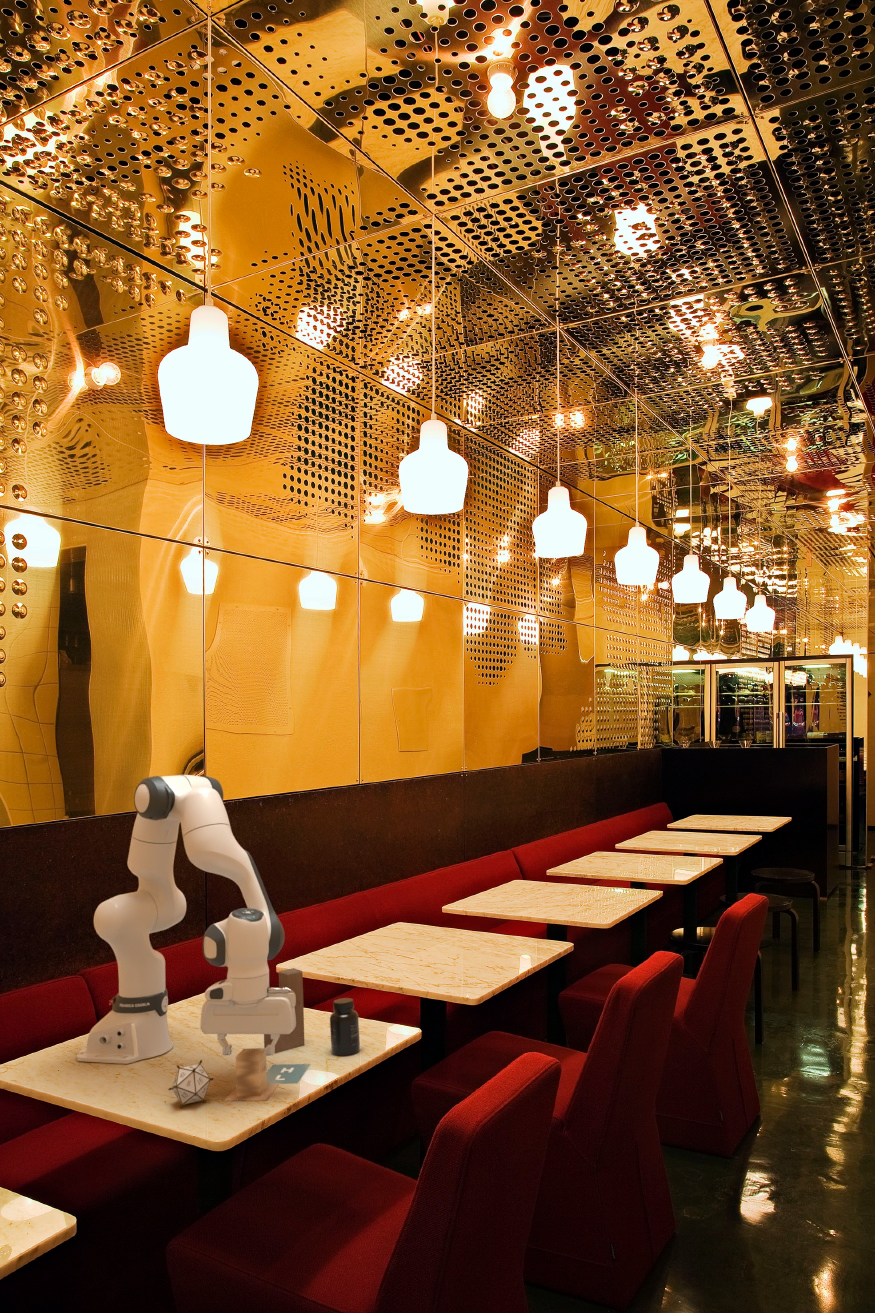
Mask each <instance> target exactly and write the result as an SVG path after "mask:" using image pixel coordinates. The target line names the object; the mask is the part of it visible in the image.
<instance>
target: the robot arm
mask: <svg viewBox="0 0 875 1313" xmlns="http://www.w3.org/2000/svg"><path fill="white" fill-rule="evenodd" d="M133 805H134V808H135V811H136V812H137V814H136V818H135V821H134V824H133V829H132V833H131V840H130V846H129V850H128V851H129V852H128V856H127V867H128V869H129V870H130V872H131V873H132V874H133V875H134V876H136V877H137V878H138V888H137V891H134V892H128V893H123V894H118V895H115V896H113V897H110V898H109V899H106V900H105V901H103V902H101V903H100V904H98V906H97V908H96V909H95V911H94V915H93V927H94V930H95V931H96V934H97V935H98V936H99V937H100V938H101V939H102V940H104V941H105V942H106V943H107V944H109V946H110V947H111V949H112V951H113V953H114V956H115V958H116V963H117V970H118V972H117V974H118V993H117V994H116V995H115V996H113V997H112V999H110V1000H108V1003H109V1004H108V1005H109V1006H111V1005H112V1007H111V1008H112V1009H111V1010H110V1011H109V1012H108V1013H107V1014H106V1015H105V1016H104V1017H103V1018H101V1019H100V1020H99V1021H98V1022H97V1023H96V1024H95V1025H94V1026H92V1028H91V1029H90V1030H89V1034H88V1036H87V1041H86V1046H84V1047H83V1048H82V1049H81V1050H80V1051H78V1053H77V1054H76V1061H77V1062H90V1063H105V1064H107V1063H108V1064H120V1065H121V1064H125V1065H126V1064H132V1063H135V1062H137V1061H141V1060H145V1059H150V1058H154V1057H157V1056H160V1055H163V1054H165V1053H168V1052H169V1051H170V1050H172V1049H173V1047H174V1044H173V1042H172V1038H171V1034H170V1030H169V1023H168V1014H167V1012H168V1008H169V1007H168V1006H169V998H168V989H167V988H166V960H165V956H164V955H163V954H162V953H161V952H159V951H158V950H155V949H153V946H152V944H151V941H150V934H153V933H158V932H160V931H161V932H162V931H165V930H167V929H170V928H171V927H173V926H175V925H176V924H178V923H180V922H181V921H182V920H183V919H184V917H185V915H186V912H187V901H186V897H185V894H184V893H183V892H182V891H181V890H180V889H179V888H178V887H177V885H176V883H175V877H174V861H175V855H176V850H177V841H178V835H179V829H180V828H181V835H182V840H183V846H184V850H185V853H186V855H187V858H188V861H189V862H190V863H191V864H193V865H194V866H195V867H196V868H198V869H200V870H202V871H204V872H207V873H210V874H211V873H212V874H215V875H219V876H222V877H225V878H228V879H229V880H232V881H233V882H234V883H235V884H236V885H237V886H238V887H239V889H240V891H241V894H242V898H243V899H244V901H245V904H246V907H243V908H237V909H234V910H233V911H231V912H230V914H229V916H228V917H227V918H225V919H223V920H221V921H219V922H216V923H215V922H214V923H213V924H211V925H210V926H208V927H207V929H206V931H205V932H204V934H203V938H202V955H203V957H204V959H205V960H206V961H207V962H208V963H209V964H210V965H212V966H214V967H220V968H221V967H227V974H226V979H223V980H220V981H218V982H217V981H216V982H215V983H214V984H212V985H211V986H209V987H208V988H207V989H206V990H205V992H204V999H205V1001H204V1002H203V1004H202V1008H201V1013H200V1030H201V1031H202V1033H203V1034H204V1035H216V1036H217V1039H216V1040H217V1041H218V1043H219V1045H220V1047H221V1048H222V1056H231V1055H232V1054H233V1050H232V1048H233V1045H232V1044H230V1043H228V1041H227V1039H226V1037H227V1036H228V1035H264V1034H271V1039H273V1041H272V1043H271V1045H267V1047H266V1057H267V1056H274V1055H275V1054H276V1053H275V1044H276V1042H277V1040H278V1039H279V1037H280V1034H290V1033H291V1032H292V1031H293V1030H294V1028H295V1027H296V1015H295V1008H294V1007H295V1005H296V995H295V993H294V992H293V991H292V990H290V989H289V988H287V987H283V988H279V987H271V986H270V968H269V965H268V961H270V960H273V959H274V958H276V956H277V955H278V954H279V953H280V951H281V950H282V948H283V946H284V943H285V939H286V938H285V937H286V936H285V929H284V927H283V924H282V922H281V921H280V918H279V917H278V915H277V913H276V912H275V910H274V908H273V906H272V903H271V901H270V900H271V899H269V895H268V892H267V891H266V887H265V885H264V882H263V880H262V877H261V875H260V872H259V870H258V867H257V866H256V863H255V860H254V859H253V856H252V855H251V854H250V852H249V851H247V850H246V849H244V848H243V847H242V846H241V845H240V844H239V842H238V841H237V840H236V837H235V836H234V834H233V831H232V826H231V823H230V820H229V816H228V813H227V809H226V807H225V805H224V789H223V787H222V785H221V783H220V781H219V780H217V779H216V778H214V777H212V776H211V777H210V776H206V775H200V776H198V775H191V774H176V775H164V776H163V775H162V776H161V775H160V776H159V775H154V776H149V777H145V778H143V779H141V780H140V782H139V783H138V784H137V786H136V788H135V791H134V794H133ZM180 826H181V827H180ZM289 992H291V993H289ZM274 1053H275V1054H274Z"/></svg>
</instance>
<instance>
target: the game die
mask: <svg viewBox="0 0 875 1313" xmlns="http://www.w3.org/2000/svg"><path fill="white" fill-rule="evenodd" d="M202 1063H203V1059H200V1061H199V1062H198V1063H195V1064H191V1065H185V1066H181V1067H180V1065H179V1064H176V1068H177V1069H178V1070H177V1072H176V1075H175V1079H174V1081H173V1084H172V1085H171V1086H172V1087H169V1088H167V1089H168V1091H172V1092H173V1093H174V1094H175V1096H176V1099H178V1101H179V1102H180V1104H181V1105H180V1106H179V1108H180V1109H183V1106H185V1105H189V1104H193V1103H197V1102H201V1101H202V1103H204V1104H205V1103H207V1100H206V1099H205V1098H206V1094H207V1092H208V1088H209V1086H210V1082H211V1081H213V1080H215V1077H210V1075H209V1074H208V1072H207V1071H206V1070H205V1068H204V1066H202Z"/></svg>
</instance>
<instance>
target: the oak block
mask: <svg viewBox="0 0 875 1313" xmlns="http://www.w3.org/2000/svg"><path fill="white" fill-rule="evenodd" d="M235 1071H236V1072H235V1073H236V1075H235V1077H236V1078H235V1081H236V1082H235V1083H236V1087H237V1096H261V1094H262V1093H263V1092H264V1090H265V1089H266V1088H267V1071H268V1070H267V1055H266V1048H264V1047H261V1048H255V1047H254V1048H252V1047H251V1048H242V1049H241V1051H239V1053H238V1054H237V1055H236V1056H235Z"/></svg>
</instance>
